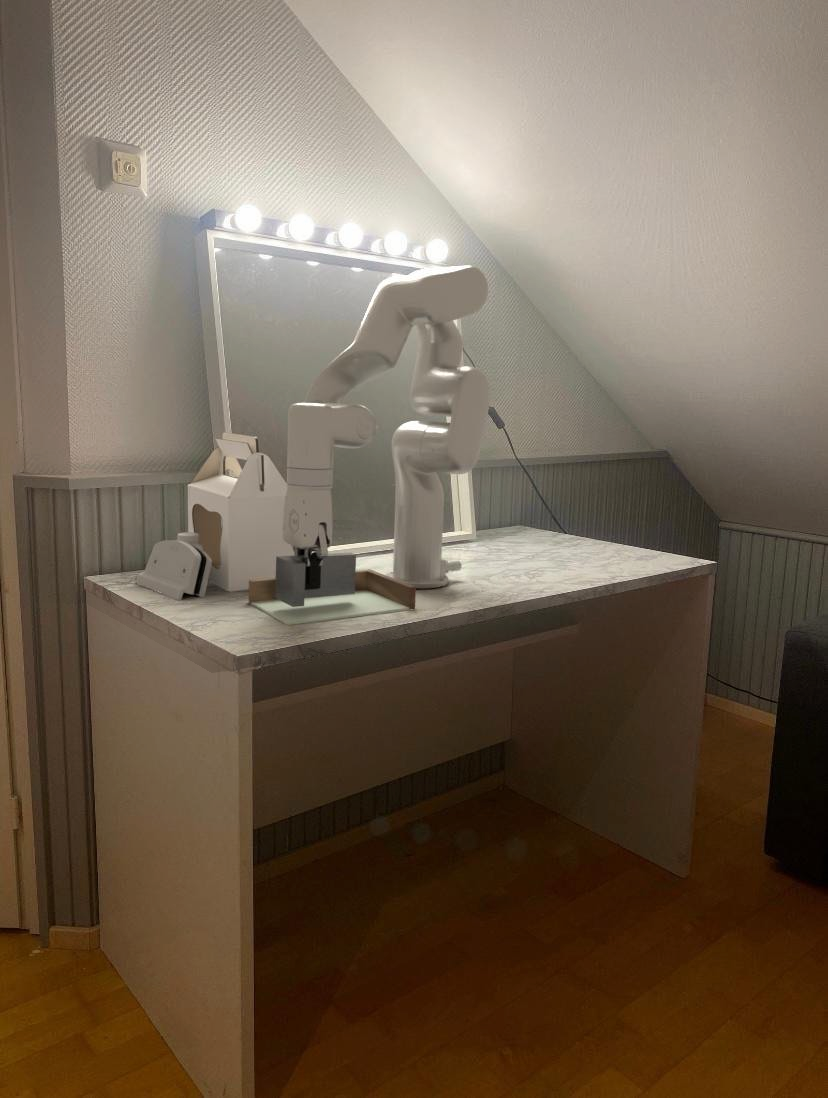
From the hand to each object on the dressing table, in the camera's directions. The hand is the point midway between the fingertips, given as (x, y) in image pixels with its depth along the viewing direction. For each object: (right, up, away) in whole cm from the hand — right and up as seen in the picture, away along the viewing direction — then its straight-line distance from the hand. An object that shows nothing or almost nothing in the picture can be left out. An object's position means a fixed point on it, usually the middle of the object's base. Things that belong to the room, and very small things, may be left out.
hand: (307, 586), depth 142 cm
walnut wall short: (+14, -3, +9) cm, 17 cm away
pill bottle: (-25, 0, +20) cm, 32 cm away
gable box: (-16, +1, +23) cm, 28 cm away
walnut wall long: (0, -2, +9) cm, 10 cm away
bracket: (+3, -2, -1) cm, 3 cm away
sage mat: (+4, -4, +2) cm, 6 cm away
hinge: (-26, -1, +12) cm, 28 cm away
